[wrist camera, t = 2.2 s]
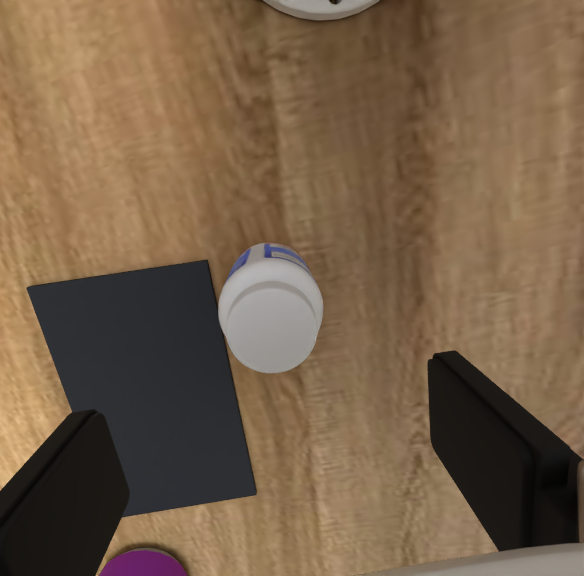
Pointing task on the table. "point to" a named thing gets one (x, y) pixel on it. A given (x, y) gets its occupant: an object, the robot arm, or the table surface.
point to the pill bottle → (270, 308)
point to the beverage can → (144, 564)
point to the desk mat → (152, 380)
